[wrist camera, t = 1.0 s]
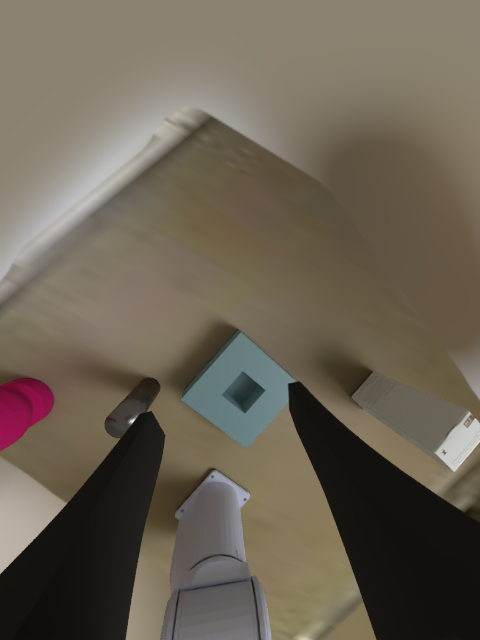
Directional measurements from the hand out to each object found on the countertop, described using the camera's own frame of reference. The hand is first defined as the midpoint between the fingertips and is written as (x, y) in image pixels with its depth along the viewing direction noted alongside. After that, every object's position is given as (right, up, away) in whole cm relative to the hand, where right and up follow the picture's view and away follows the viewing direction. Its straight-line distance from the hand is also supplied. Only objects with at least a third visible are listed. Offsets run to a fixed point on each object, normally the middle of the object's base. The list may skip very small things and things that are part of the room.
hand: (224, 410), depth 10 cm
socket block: (+1, -5, +18) cm, 19 cm away
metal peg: (-12, -5, +17) cm, 21 cm away
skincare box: (+23, -7, +22) cm, 32 cm away
